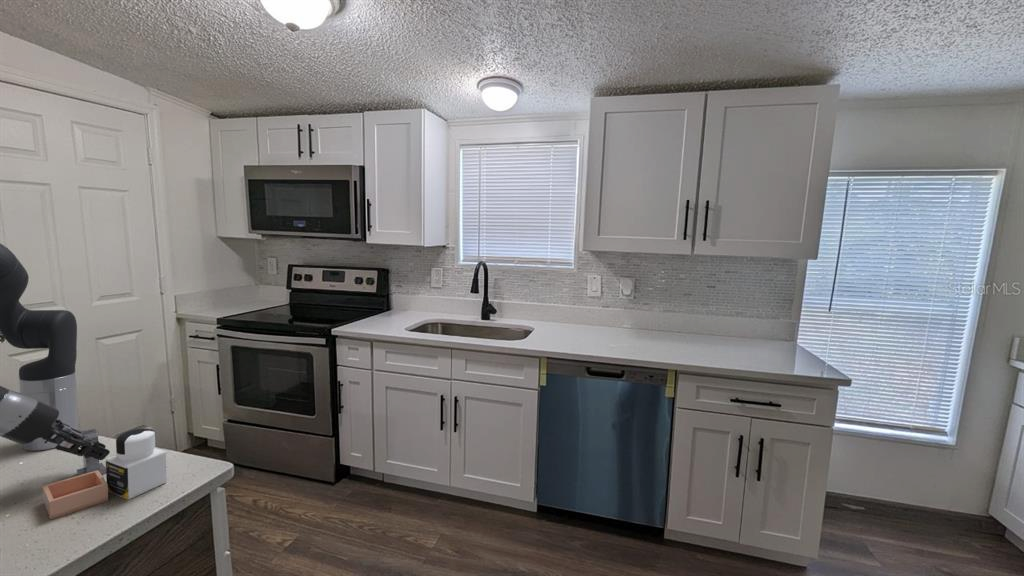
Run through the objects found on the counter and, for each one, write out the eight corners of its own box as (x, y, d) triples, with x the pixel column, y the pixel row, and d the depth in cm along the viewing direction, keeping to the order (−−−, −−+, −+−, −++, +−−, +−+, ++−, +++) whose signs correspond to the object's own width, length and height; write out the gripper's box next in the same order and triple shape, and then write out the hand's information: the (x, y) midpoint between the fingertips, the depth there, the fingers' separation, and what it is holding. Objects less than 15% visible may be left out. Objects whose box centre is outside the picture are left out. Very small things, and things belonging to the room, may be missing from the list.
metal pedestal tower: (76, 474, 92) (74, 432, 91) (102, 466, 95) (100, 426, 94) (80, 480, 89) (78, 438, 88) (106, 473, 93) (104, 431, 92)
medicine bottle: (106, 491, 86) (103, 436, 85) (146, 474, 93) (144, 422, 92) (127, 500, 84) (125, 443, 83) (167, 482, 90) (166, 429, 89)
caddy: (43, 503, 82) (42, 486, 81) (98, 485, 88) (98, 469, 88) (50, 519, 77) (49, 502, 77) (108, 500, 83) (107, 483, 83)
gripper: (41, 409, 80) (128, 447, 91) (30, 391, 88) (111, 428, 99) (-1, 445, 76) (95, 480, 87) (-8, 423, 84) (80, 458, 96)
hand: (103, 452), depth 93 cm, fingers closed on metal pedestal tower, 3 cm apart
